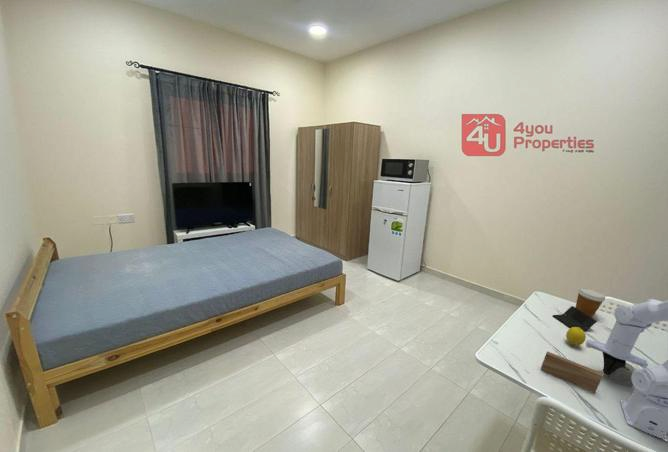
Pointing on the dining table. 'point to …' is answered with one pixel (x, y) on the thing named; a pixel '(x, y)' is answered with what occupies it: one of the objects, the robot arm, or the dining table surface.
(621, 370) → the dice cube
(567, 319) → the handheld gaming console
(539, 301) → the dining table surface
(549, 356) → the brown wooden block
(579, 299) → the disposable coffee cup
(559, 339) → the dining table surface
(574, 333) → the lemon
